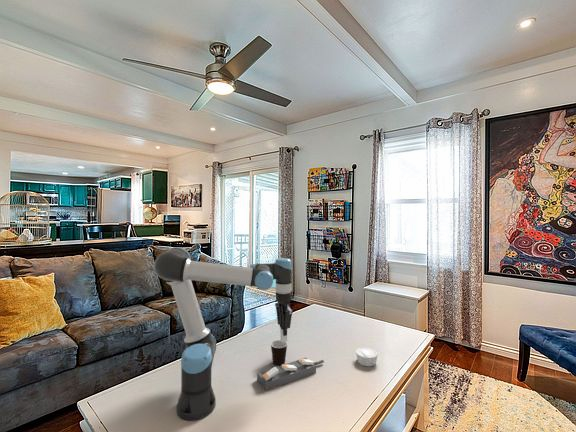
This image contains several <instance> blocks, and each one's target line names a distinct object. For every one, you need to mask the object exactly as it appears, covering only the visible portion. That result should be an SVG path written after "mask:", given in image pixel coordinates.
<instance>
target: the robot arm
mask: <svg viewBox="0 0 576 432" xmlns="http://www.w3.org/2000/svg"><path fill="white" fill-rule="evenodd" d="M292 267H293V266H292V260H291V259H290V258H288V257H287V258H286V257H281V258H276V259H275V262H274V263H252V264H250V266H249V267H247V266H239V265H237V266H236V265H230V264H221V263H213V262H205V261H197V260H192V259H191V255H190V253H189V252H188V251H187V250H186V249H185V248H181V247H172V248H169V249H167V250H166V251H164V252H162V253H160V254H159V255H158V256H157V257H156V258H155V261H154V264H153V269H154V272H155V274H156V276H158V278H160V279H162V280H163V281H165V283H166V284H168V285H169V286H170V287H171V289H172V293H173V296H174V299H175V304H176V306H177V309H178V312H179V313H178V314H179V316H180V319H181V322H182V326H183V329H184V332H185V335H186V336H185V337H184V338H183V339H184V341H183V342H184V345H185V349H184V351H183V352H182V355H181V357H180V358H181V359H180V366H181V368H180V369H181V370H180V371H181V372H180V373H181V375H180V376H181V377H180V379H181V381H180V382H181V384H180V385H181V386H180V387H181V391H180V393H179V397H178V400H177V402H176V403H177V404H176V415H177V416H178V417H179V418H180V419H182V420H184V421H198V420H201V419H204V418H205V417H208V416H209V415H210V414H211V413H212V412H213V411H214V410H215V408H216V403H217V402H216V399H217V398H216V395H215V392H214V389H213V387H212V386H213V385H212V368H213V367H212V366H213V362H214V358H215V354H216V351H217V341H216V338H215V336H214V335H213V334H212V333H211V329H210V328H208V327H206V325H205V321H204V318H203V314H202V311H201V308H200V305H199V302H198V299H197V295H196V292H195V288H194V285H193V282H192V281H198V282H207V283H216V284H223V285H224V284H226V285H236V286H243V287H244V286H245V287H246V286H247V287H254V288H257V289H259V290H261V291H267V290H269V289H270V288H272V287H273V284H274V280H275V300H276V301H277V302H275V303H274V306H275V310H276V320H277V325H279V329H280V340H281V342H282V343H283V342H286V343H287V342H288V329H290V328H291V322H292V315H293V313H294V310H293V309H291V304H290V302H291V301H292V299H293V296H292V295H293V292H292V291H293V290H292V289H293V288H292V287H293V286H292V285H293V282H292V279H293V277H292V276H293V275H292V271H293V268H292Z"/></svg>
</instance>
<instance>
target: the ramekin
mask: <svg viewBox="0 0 576 432" xmlns="http://www.w3.org/2000/svg"><path fill="white" fill-rule="evenodd" d="M378 354H379V353H378V352H377V351H376V350H375V349H373V348H370V347H358V348H356V349H355V355H356V361H357V362H358V364H360V365H362V366H364V367H373V366H375V365H376V364H377V359H378V356H379V355H378Z"/></svg>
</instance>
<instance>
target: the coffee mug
mask: <svg viewBox="0 0 576 432" xmlns="http://www.w3.org/2000/svg"><path fill="white" fill-rule="evenodd" d="M270 348H271V349H270V350H271V359H272V364H273V366H274V367H278V366H281V365H282V364H286V357H287V349H288V342H287V341H286V342H283V343H282V342H281V339H278V340H274V341H273V340H272V341H271V343H270Z"/></svg>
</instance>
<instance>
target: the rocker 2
mask: <svg viewBox="0 0 576 432" xmlns="http://www.w3.org/2000/svg"><path fill="white" fill-rule="evenodd" d="M285 364H286V363H285ZM285 364H282V366H281V367H282V368H283V369H284V370H293V371H297V367H295V366H294V365H285Z"/></svg>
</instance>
